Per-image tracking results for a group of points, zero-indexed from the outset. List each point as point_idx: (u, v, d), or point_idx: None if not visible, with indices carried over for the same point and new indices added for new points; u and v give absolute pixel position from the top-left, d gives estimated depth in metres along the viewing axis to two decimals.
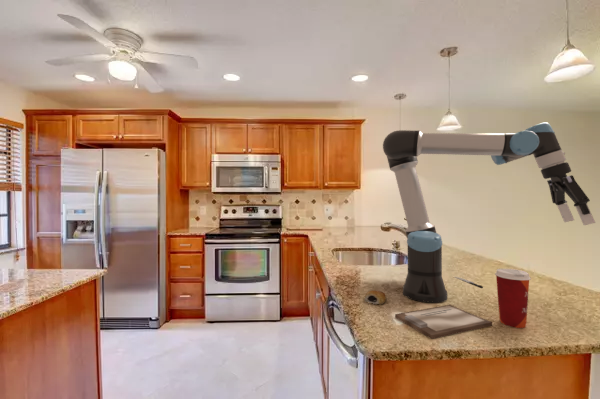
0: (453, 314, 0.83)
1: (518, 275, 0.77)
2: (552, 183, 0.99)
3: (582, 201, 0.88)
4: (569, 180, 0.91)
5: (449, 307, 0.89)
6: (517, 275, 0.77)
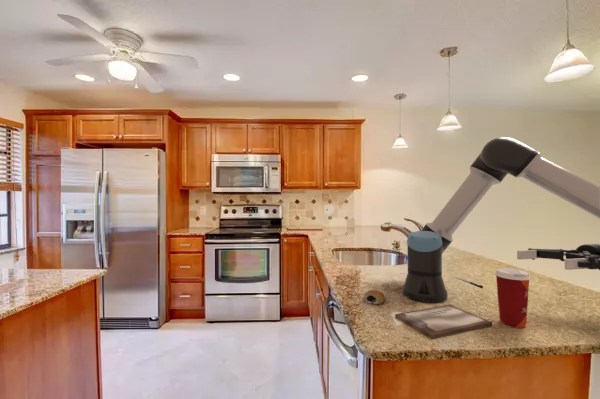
0: (453, 314, 0.83)
1: (518, 275, 0.77)
2: (577, 250, 0.85)
3: None
4: None
5: (449, 307, 0.89)
6: (517, 275, 0.77)
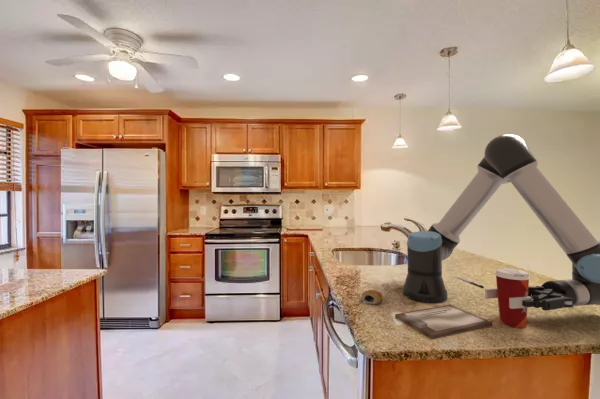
0: (453, 314, 0.83)
1: (518, 275, 0.77)
2: (542, 286, 0.83)
3: (546, 303, 0.73)
4: (567, 302, 0.75)
5: (449, 307, 0.89)
6: (517, 275, 0.77)
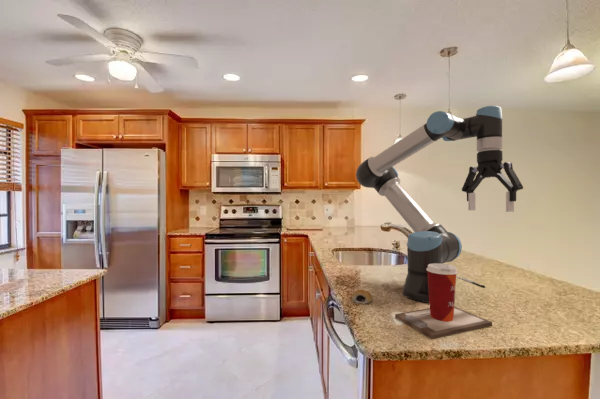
0: None
1: (444, 269, 0.78)
2: (482, 168, 0.99)
3: (519, 187, 0.89)
4: (509, 166, 0.92)
5: None
6: (443, 269, 0.78)
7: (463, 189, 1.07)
